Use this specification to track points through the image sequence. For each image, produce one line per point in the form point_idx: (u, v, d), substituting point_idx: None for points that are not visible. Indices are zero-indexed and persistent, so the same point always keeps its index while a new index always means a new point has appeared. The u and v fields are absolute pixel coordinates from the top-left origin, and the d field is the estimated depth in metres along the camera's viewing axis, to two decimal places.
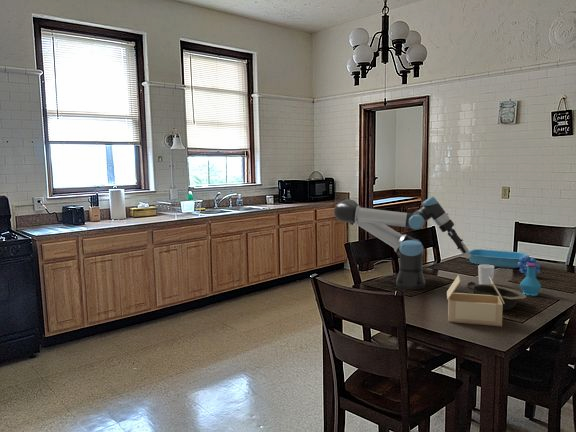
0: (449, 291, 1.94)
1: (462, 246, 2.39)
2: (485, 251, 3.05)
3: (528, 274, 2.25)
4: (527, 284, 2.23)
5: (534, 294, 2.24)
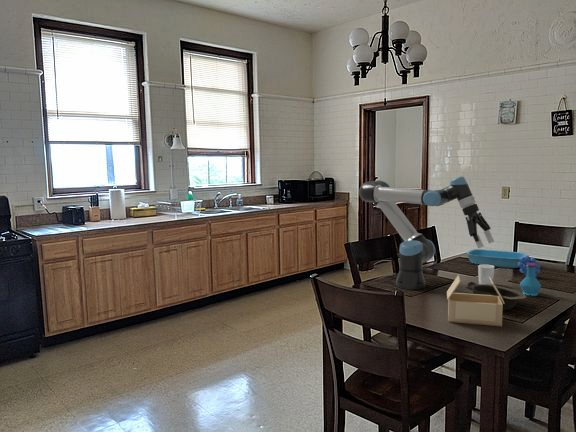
0: (449, 291, 1.94)
1: (475, 234, 2.25)
2: (485, 251, 3.05)
3: (528, 274, 2.25)
4: (527, 284, 2.23)
5: (534, 294, 2.24)
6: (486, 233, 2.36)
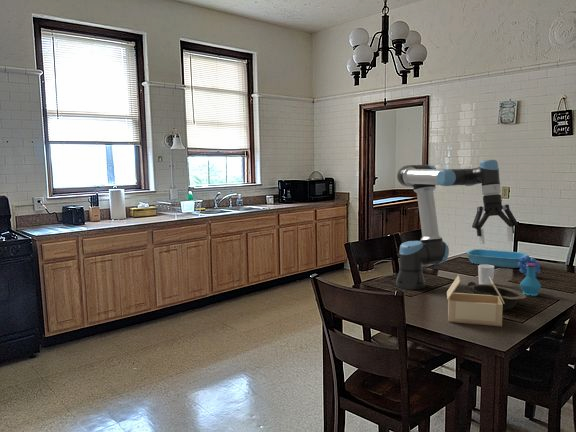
0: (449, 291, 1.94)
1: (478, 228, 2.02)
2: (485, 251, 3.05)
3: (528, 274, 2.25)
4: (527, 284, 2.23)
5: (534, 294, 2.24)
6: (508, 229, 2.05)
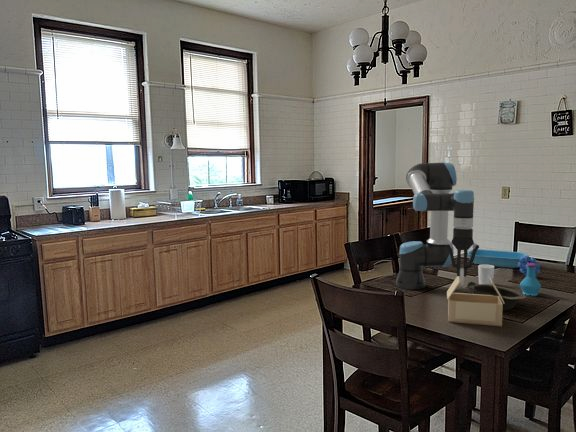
0: (449, 291, 1.94)
1: (457, 268, 1.91)
2: (484, 251, 3.05)
3: (528, 274, 2.25)
4: (527, 284, 2.23)
5: (534, 294, 2.24)
6: None
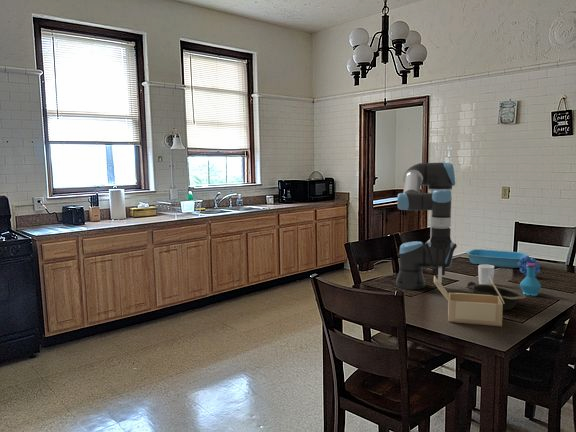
0: (444, 292, 1.95)
1: (435, 266, 1.93)
2: (484, 251, 3.05)
3: (528, 274, 2.25)
4: (527, 284, 2.23)
5: (534, 294, 2.24)
6: None
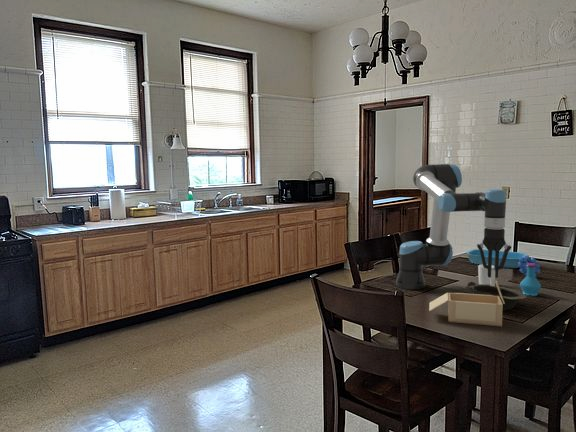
0: (444, 298, 1.95)
1: (488, 269, 1.87)
2: (485, 251, 3.05)
3: (528, 274, 2.25)
4: (527, 284, 2.23)
5: (534, 294, 2.24)
6: None
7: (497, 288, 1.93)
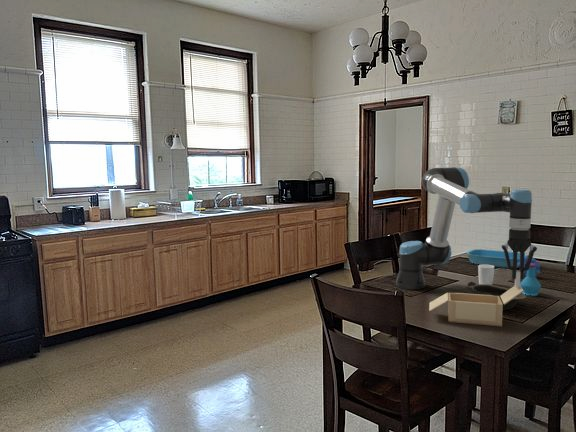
0: (444, 298, 1.95)
1: (513, 270, 1.84)
2: (486, 251, 3.05)
3: (528, 274, 2.25)
4: (527, 284, 2.23)
5: (534, 294, 2.24)
6: None
7: (507, 291, 1.92)
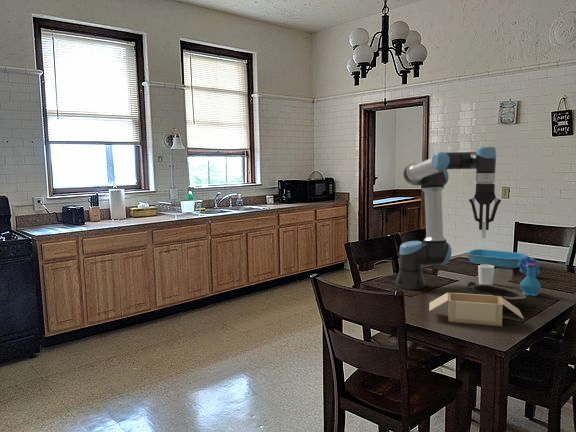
0: (444, 298, 1.95)
1: (479, 222, 1.99)
2: (487, 251, 3.05)
3: (528, 274, 2.25)
4: (527, 284, 2.23)
5: (534, 294, 2.24)
6: None
7: (507, 301, 1.92)
